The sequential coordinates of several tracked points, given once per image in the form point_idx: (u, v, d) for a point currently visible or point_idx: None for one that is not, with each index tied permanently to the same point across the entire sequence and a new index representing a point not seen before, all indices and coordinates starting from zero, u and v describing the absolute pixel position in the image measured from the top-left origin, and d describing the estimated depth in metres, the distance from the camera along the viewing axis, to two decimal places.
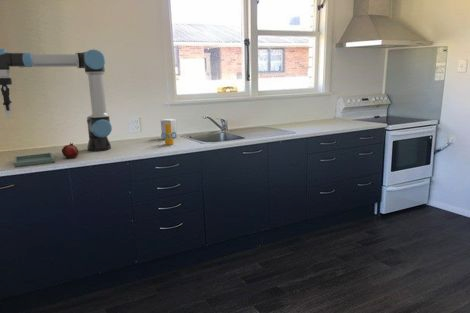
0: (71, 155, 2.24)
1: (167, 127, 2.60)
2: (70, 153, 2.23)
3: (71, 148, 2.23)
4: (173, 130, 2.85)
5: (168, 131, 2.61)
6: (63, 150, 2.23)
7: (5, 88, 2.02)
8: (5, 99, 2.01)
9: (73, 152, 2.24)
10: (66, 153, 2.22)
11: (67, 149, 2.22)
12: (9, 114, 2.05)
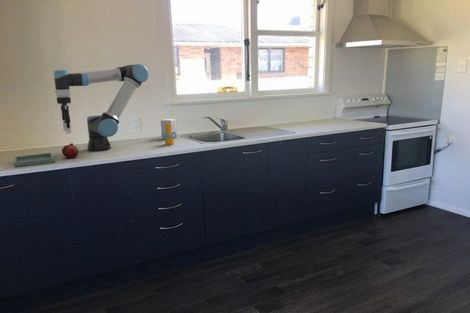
0: (71, 155, 2.24)
1: (167, 127, 2.60)
2: (70, 153, 2.23)
3: (71, 148, 2.23)
4: (173, 130, 2.85)
5: (168, 131, 2.61)
6: (63, 150, 2.23)
7: (66, 107, 2.15)
8: (66, 117, 2.14)
9: (73, 152, 2.24)
10: (66, 153, 2.22)
11: (67, 149, 2.22)
12: (69, 131, 2.18)
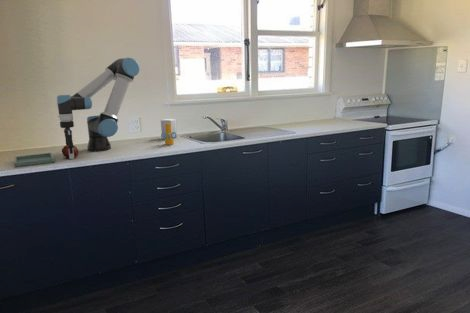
0: None
1: (167, 127, 2.60)
2: None
3: None
4: (173, 130, 2.85)
5: (168, 131, 2.61)
6: (63, 150, 2.23)
7: (69, 133, 2.18)
8: (70, 143, 2.19)
9: None
10: (66, 153, 2.22)
11: (67, 149, 2.22)
12: (72, 156, 2.23)
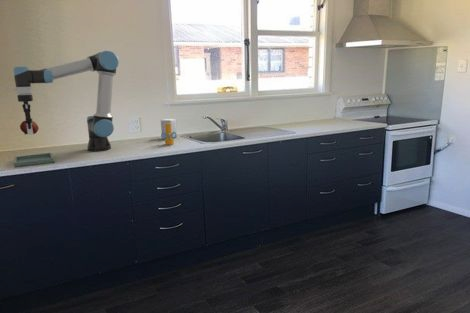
0: None
1: (167, 127, 2.60)
2: None
3: None
4: (173, 130, 2.85)
5: (168, 131, 2.61)
6: (21, 125, 2.11)
7: (27, 107, 2.07)
8: (27, 118, 2.07)
9: (32, 127, 2.12)
10: (24, 128, 2.10)
11: (25, 124, 2.11)
12: (31, 132, 2.11)
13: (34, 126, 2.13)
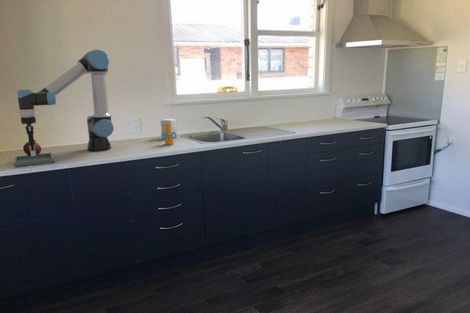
0: None
1: (167, 127, 2.60)
2: None
3: None
4: (173, 130, 2.85)
5: (168, 131, 2.61)
6: (24, 147, 2.14)
7: (30, 129, 2.10)
8: (30, 140, 2.10)
9: (35, 149, 2.15)
10: (27, 150, 2.13)
11: (28, 146, 2.13)
12: (34, 154, 2.14)
13: (37, 148, 2.16)
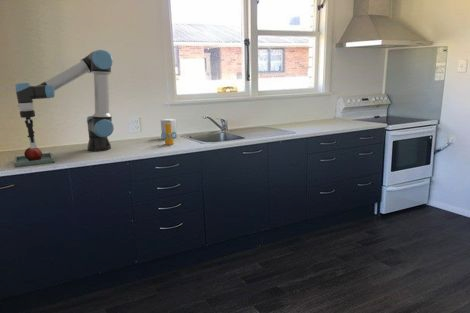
0: (34, 158, 2.15)
1: (167, 127, 2.60)
2: (32, 156, 2.15)
3: (33, 150, 2.15)
4: (173, 130, 2.85)
5: (168, 131, 2.61)
6: (25, 153, 2.15)
7: (29, 121, 2.09)
8: (30, 132, 2.08)
9: (36, 155, 2.15)
10: (28, 156, 2.14)
11: (29, 152, 2.14)
12: (34, 146, 2.12)
13: (38, 153, 2.16)
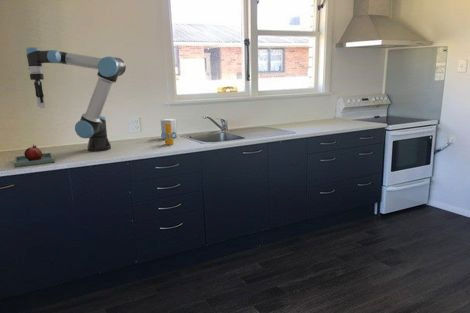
0: (34, 158, 2.15)
1: (167, 127, 2.60)
2: (32, 156, 2.15)
3: (33, 150, 2.15)
4: (173, 130, 2.85)
5: (168, 131, 2.61)
6: (25, 153, 2.15)
7: (39, 82, 2.26)
8: (40, 92, 2.25)
9: (36, 155, 2.15)
10: (28, 156, 2.14)
11: (29, 152, 2.14)
12: (43, 106, 2.29)
13: (38, 153, 2.16)
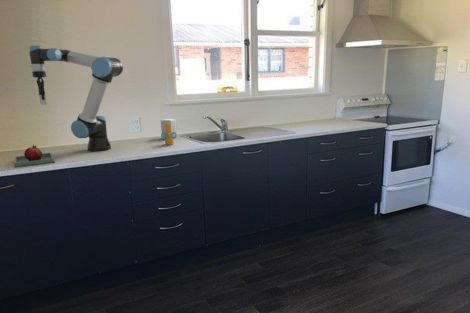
0: (34, 158, 2.15)
1: (167, 127, 2.60)
2: (32, 156, 2.15)
3: (33, 150, 2.15)
4: (173, 130, 2.85)
5: (168, 131, 2.61)
6: (25, 153, 2.15)
7: (41, 80, 2.30)
8: (41, 89, 2.29)
9: (36, 155, 2.15)
10: (28, 156, 2.14)
11: (29, 152, 2.14)
12: (44, 103, 2.33)
13: (38, 153, 2.16)
